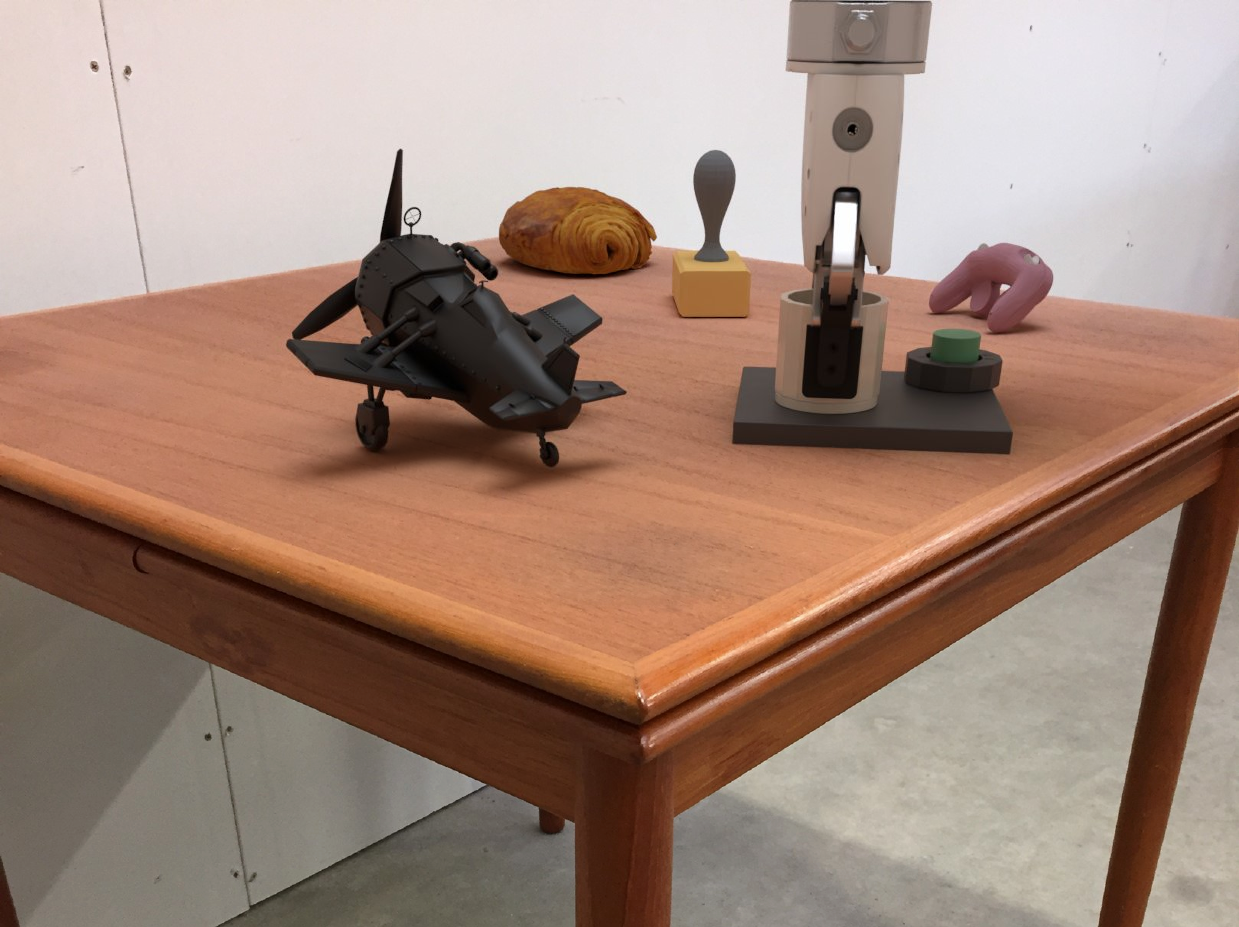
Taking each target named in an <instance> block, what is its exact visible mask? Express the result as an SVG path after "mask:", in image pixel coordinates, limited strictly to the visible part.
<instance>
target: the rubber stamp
mask: <svg viewBox="0 0 1239 927" xmlns="http://www.w3.org/2000/svg"><path fill="white" fill-rule="evenodd" d="M692 177H693V178H692V180H693V181H692V184H693V185H692V186H693V191H694V197H695V200H696V203H697V206H698V210H699V212H700V216H701V220H702V224H703V229H704V241H703V244H702V246H701V248H700V249H699V250H675V252H674V253H673V254H672V272H671V274H672V275H671V293H672V295H673V299H674V302H675V306H676V308H677V311H678V313H679V314H680V315H681V316H682V317H683V318H716V317H717V318H740V317H741V318H744V317H747V315H748V314H749V313H750V301H751V300H750V298H751V281H752V273H751V271H750V268H748V266H747V265H746V263H745V261H744V260H743V258H742V257H741V256H740V254H739V253H738V251H737V250H725V249H724V248H723V246H722V244H721V241H720V240H721V239H720V238H721V237H720V235H721V230H722V225H723V222H724V219H725V216H726V214H727V211H728V209H729V206H730V204H731V201H732V198H733V195H734V191H735V188H736V178H737V174H736V167H735V164H734V162H733V160H732V157H731V156H729V155H728V153H726V152H724V151H722V150H719V149H712V150H709V151H707V152H705V153H703V154H702V155H701V156H700V158H699V159H698V160H697V162H696V164H695V167H694V171H693V176H692Z"/></svg>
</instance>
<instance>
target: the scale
mask: <svg viewBox="0 0 1239 927" xmlns="http://www.w3.org/2000/svg"><path fill="white" fill-rule="evenodd" d="M930 354H931V346H925V347H924V346H923V347H918V348H915V349H912V350H910V351H907V352H906V356H905V365H904V371H903V370H902V371H897V370H882V372H881V382H880V391H879V395H878V403H877V405H876V406H875V407H874V408H872V409H869V410H866V411H862V412H856V413H847V414H819V413H809V412H802V411H797V410H792V409H789V408H786V407H783V406H781V405H779V404H778V403H776V401H775V399H774V396H775V379H776V366H775V367H774V366H773V367H772V366H742V372H741V377H740V383H739V388H738V394H737V400H736V406H735V411H734V418H733V423H732V440H731V441H732V444H733V445H750V446H755V445H756V446H777V447H778V446H779V447H803V448H804V447H805V448H826V449H827V448H829V449H853V450H855V449H856V450H882V451H887V450H888V451H906V452H907V451H908V452H909V451H910V452H936V453H960V454H961V453H962V454H987V455H988V454H990V455H1010V454H1011V449H1012V442H1013V435H1014V431H1013V429H1012V427H1011V424H1010V423H1009V420H1008V418H1007V416H1006V415H1005V412H1004V410H1003V408H1002V406H1001V404H1000V401H999V400H998V397H997V396H996V393H995V391H994V389H995V388H997V387H999V386H1000V381H1001V375H1002V367H1003V362H1004V361H1003V358H1002V357H1001V355H1000V354H998V353H994V352H992V351H989V350H986V349H981V348H980V349H979V356H978V361H977V362H969V363H955V362H944V361H937V360H933V359H930Z"/></svg>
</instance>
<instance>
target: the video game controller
mask: <svg viewBox="0 0 1239 927" xmlns="http://www.w3.org/2000/svg"><path fill="white" fill-rule="evenodd" d="M1053 284H1054V273H1053V270H1052V269H1051V267H1050V266H1048V264H1046V263H1045V262H1044V260H1043V259H1042V258H1041V256H1039V255H1038V254H1037V253H1035V252H1034V251H1033V250H1031V249H1029V248H1027V247H1024V246H1021V245H1017V244H1015V243H1010V242H999V243H996V244H993V245H990V246H989V245H988V244H987V243H985V242H983V243H980V244H979V246H978V248H977V249H976V250H972V251H970V252H969V253H968V254H967V255H966V256H965V257H964V259H962V260H961V262H960V263H959V264H958V265H957V266H956V267H955V268H954V269H953V270H951V272H950V273H948V274H947V275H945V277H944V278H943V279H941V280H940V281H939V283H937V285H935V287H934V288H933V290H932V292H931V293H930V296H929V301H928V307H929V309H930V310H931V312H932V313H934V314H940V313H945V312H948V311H950V310H952V309H954V308H956V307H958V306H959V305H961V304H962V303H963V302H965V301H966V300H968V299H969V298H970V301H969V309H970V310H971V311H972V312H974V313H975V314H977V315H979V316H980V317H982V318H983V317H984V318H985V317H987V318H986V325H987V328H988V330H989V331H990V332H992V333H993V334H995V333H1001V332H1004V331H1008V330H1010V329H1013V328H1014V327H1016V326H1017V325H1018V324H1020V323H1021V322H1022V321H1023V320H1024V319H1025V318H1026V317H1027V316H1028V315H1029V314H1030V313H1031V312H1032V311H1033V310H1034V308H1035V307H1036V306H1038V305H1039V304H1040V303H1042V301H1044V300H1045V299H1046V297H1047V296H1048V294H1049V293H1050V291H1051V289H1052V286H1053ZM1002 285H1006V286H1008V288H1007V289H1006V290H1004V291H1003V292H1002V293H1001V288H1002Z"/></svg>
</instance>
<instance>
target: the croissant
mask: <svg viewBox="0 0 1239 927" xmlns="http://www.w3.org/2000/svg"><path fill="white" fill-rule="evenodd" d="M657 238H658V235H657V233H656V230H655V228H654V226H653V225H652V224H651V223H650V222H649V221H648V219H646V217H644V215H643V214H642V213H641V212H640V211H639V210H638V209H636V208H635V207H633V205H631V204H629V203H627V202H626V201H625V200H623V199H622V198H618V197H615V196H612V195H609V194H607V193H605V192H603V191H600V190H598V189H593V188H590V187H584V186H577V187H576V186H564V187H551V188H548V189H541V190H535V191H534V192H532V193H531V194H529V195H528V196H526V197H524V198H523V199H522V200H517V201H516V202H514V203H513V204H512V205H511V206H510V207H508V208H507V210H506V212H505V214H504V216H503V218H502V220H501V223H500V224H499V227H498V241H499V245H500V246H501V248H502V249H503V250H504V252H505V253H506V255H507V256H508V257H509V258H511V259H513V260H515V261H516V262H517V263H520V264H523V265H525V266H529V267H532V268H534V269H541V270H545V271H554V272H557V273H562V274H572V275H573V274H574V275H577V274H578V275H579V274H587V275H589V274H590V275H591V274H592V275H601V274H602V275H607V274H611V273H615V272H618V271H625V270H629V269H634V270H635V269H641V268H642V267H643V266H645V265H646V264H647V263H648V261H649V260H650V256H651V255H652V254H653V251H652V248H653V246H652V242H655V241H656V240H657Z"/></svg>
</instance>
